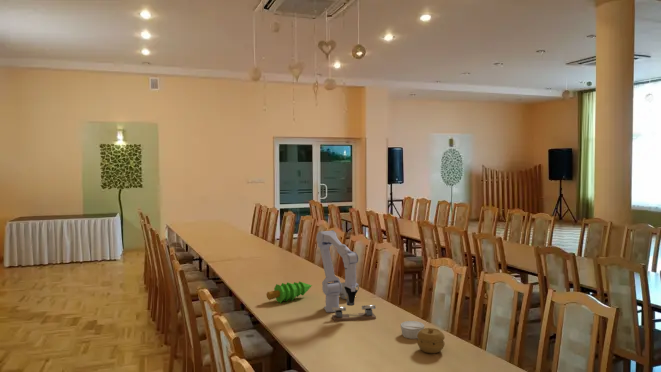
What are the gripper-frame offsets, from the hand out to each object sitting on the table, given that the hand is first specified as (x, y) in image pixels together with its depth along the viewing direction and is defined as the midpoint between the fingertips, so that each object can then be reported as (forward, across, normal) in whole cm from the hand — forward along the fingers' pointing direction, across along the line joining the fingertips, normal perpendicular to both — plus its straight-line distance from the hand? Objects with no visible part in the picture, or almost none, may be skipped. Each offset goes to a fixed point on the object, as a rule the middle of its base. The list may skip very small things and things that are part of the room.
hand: (350, 301), depth 253 cm
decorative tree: (+10, +40, +29) cm, 50 cm away
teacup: (+10, +39, -5) cm, 40 cm away
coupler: (+2, 0, 0) cm, 2 cm away
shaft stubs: (+8, +2, -2) cm, 9 cm away
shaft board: (+9, +2, -2) cm, 10 cm away
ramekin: (+10, -28, -24) cm, 38 cm away
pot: (+9, -47, -26) cm, 55 cm away
